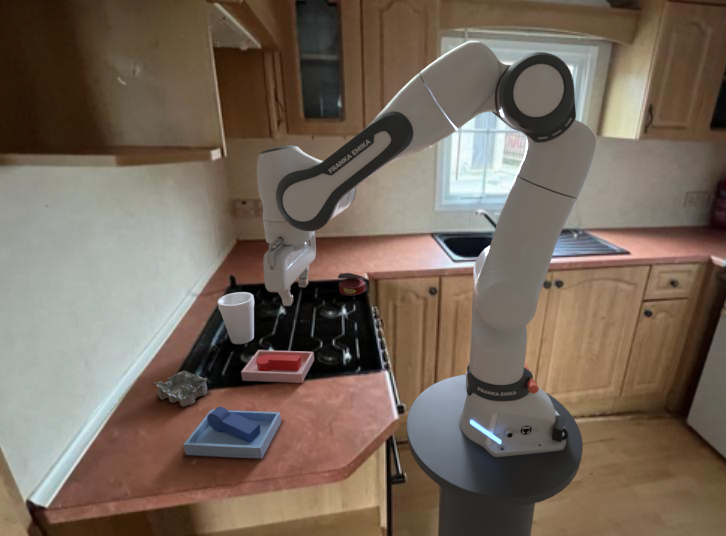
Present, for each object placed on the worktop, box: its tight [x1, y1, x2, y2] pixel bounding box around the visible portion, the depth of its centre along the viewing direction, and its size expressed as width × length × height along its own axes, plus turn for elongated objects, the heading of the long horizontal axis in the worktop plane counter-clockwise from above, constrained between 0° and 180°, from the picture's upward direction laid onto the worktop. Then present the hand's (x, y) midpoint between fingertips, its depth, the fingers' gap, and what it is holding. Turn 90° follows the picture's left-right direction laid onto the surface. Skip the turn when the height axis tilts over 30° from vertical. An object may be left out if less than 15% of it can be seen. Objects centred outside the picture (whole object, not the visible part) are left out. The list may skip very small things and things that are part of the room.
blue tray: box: [183, 408, 282, 460], centre depth 84 cm, size 15×10×3 cm
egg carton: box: [152, 370, 209, 408], centre depth 96 cm, size 11×8×4 cm
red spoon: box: [256, 355, 301, 372], centre depth 106 cm, size 11×4×3 cm, turn 86°
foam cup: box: [217, 291, 255, 345], centre depth 119 cm, size 10×9×13 cm
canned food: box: [337, 272, 367, 296], centre depth 154 cm, size 11×10×10 cm
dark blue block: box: [207, 406, 260, 443], centre depth 84 cm, size 11×4×3 cm
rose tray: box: [240, 349, 315, 384], centre depth 106 cm, size 15×10×3 cm
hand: (296, 294), depth 86 cm, fingers open, 8 cm apart
